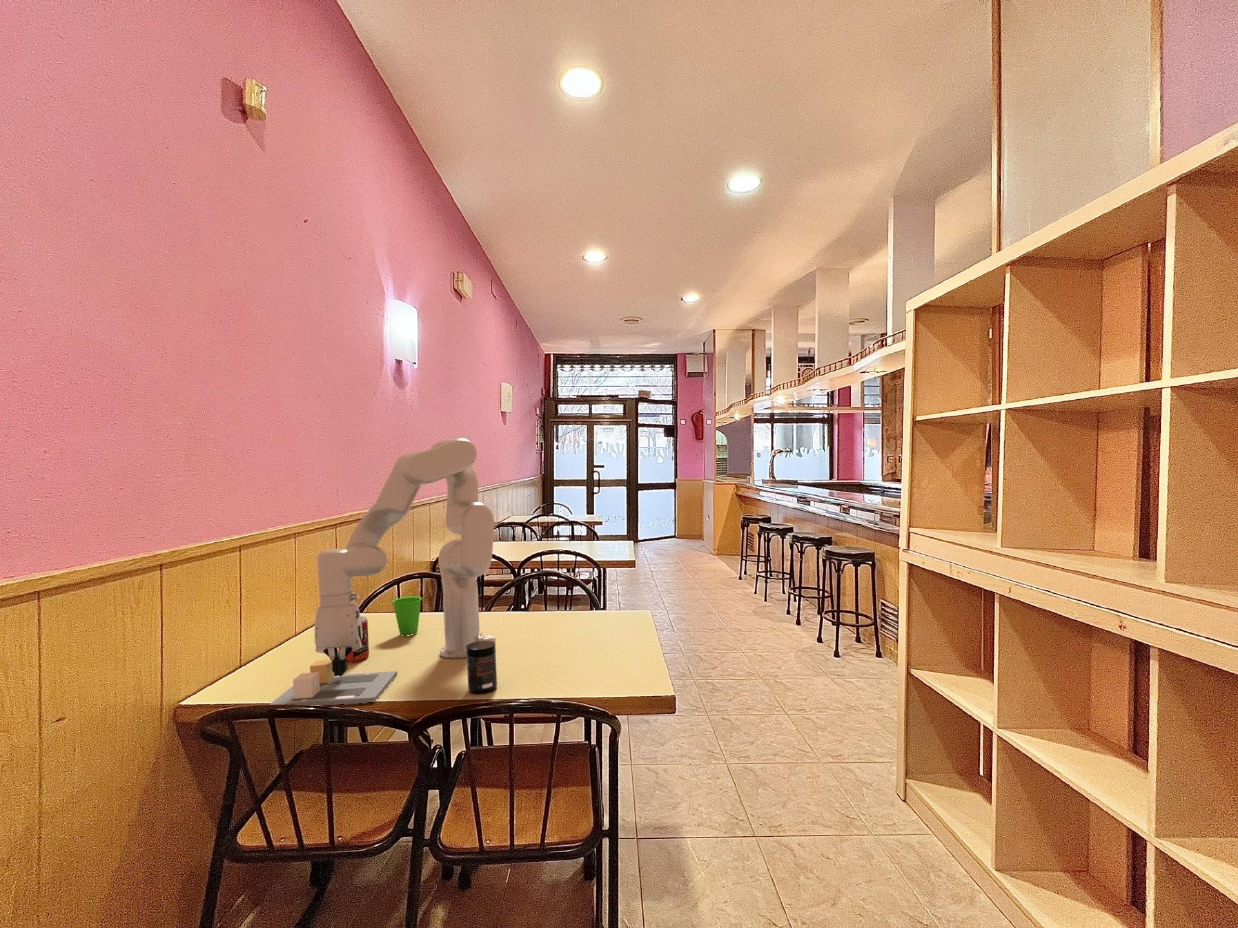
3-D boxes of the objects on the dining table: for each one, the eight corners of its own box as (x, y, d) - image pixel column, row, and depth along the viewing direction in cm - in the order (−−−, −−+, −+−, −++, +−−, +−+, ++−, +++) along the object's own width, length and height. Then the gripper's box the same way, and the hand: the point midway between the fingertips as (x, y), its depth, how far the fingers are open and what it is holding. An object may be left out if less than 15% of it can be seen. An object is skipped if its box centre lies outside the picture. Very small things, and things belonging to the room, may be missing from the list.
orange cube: (334, 677, 150) (333, 659, 150) (327, 682, 146) (327, 664, 146) (317, 678, 150) (317, 660, 150) (310, 684, 146) (309, 666, 146)
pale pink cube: (319, 690, 141) (318, 672, 141) (312, 697, 137) (311, 678, 137) (302, 691, 141) (301, 673, 141) (294, 698, 137) (293, 679, 137)
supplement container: (489, 681, 146) (487, 638, 146) (502, 689, 141) (500, 644, 141) (463, 689, 142) (461, 645, 142) (476, 697, 136) (474, 651, 136)
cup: (418, 637, 186) (416, 602, 186) (388, 639, 186) (387, 603, 186) (427, 629, 195) (426, 595, 195) (399, 630, 195) (398, 596, 195)
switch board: (397, 675, 153) (397, 670, 153) (375, 702, 136) (374, 696, 136) (303, 682, 151) (303, 676, 151) (269, 709, 134) (269, 704, 134)
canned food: (358, 663, 164) (356, 623, 164) (332, 663, 165) (330, 623, 165) (375, 654, 171) (373, 616, 171) (350, 654, 173) (348, 615, 173)
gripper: (372, 594, 152) (376, 667, 152) (311, 598, 151) (315, 671, 151) (362, 601, 145) (366, 677, 145) (298, 605, 144) (301, 682, 144)
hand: (340, 674), depth 148 cm, fingers closed
